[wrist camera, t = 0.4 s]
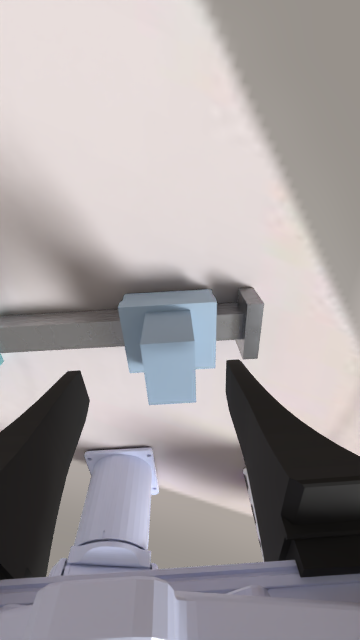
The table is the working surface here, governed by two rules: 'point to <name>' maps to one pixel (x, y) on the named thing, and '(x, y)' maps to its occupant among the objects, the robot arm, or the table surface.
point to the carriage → (169, 340)
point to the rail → (107, 332)
